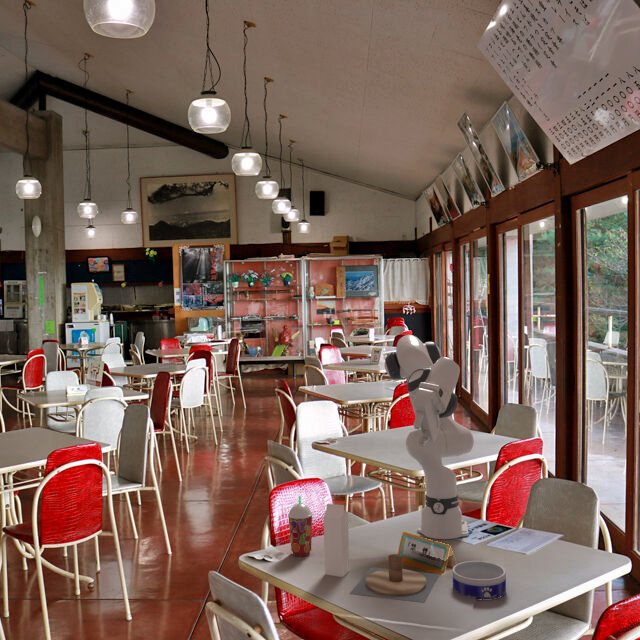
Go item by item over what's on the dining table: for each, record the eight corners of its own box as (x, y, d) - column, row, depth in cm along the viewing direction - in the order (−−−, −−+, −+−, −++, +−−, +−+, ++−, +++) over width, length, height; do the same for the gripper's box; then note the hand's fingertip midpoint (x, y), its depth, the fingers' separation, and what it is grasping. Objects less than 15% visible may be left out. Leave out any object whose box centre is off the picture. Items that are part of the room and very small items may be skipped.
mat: (371, 569, 225) (371, 567, 225) (439, 576, 217) (439, 574, 217) (349, 595, 204) (349, 593, 204) (424, 604, 196) (424, 602, 196)
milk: (332, 569, 225) (330, 501, 225) (350, 572, 223) (347, 502, 223) (324, 576, 220) (322, 506, 220) (342, 578, 217) (340, 507, 217)
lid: (375, 570, 222) (374, 544, 222) (431, 575, 216) (431, 549, 216) (358, 591, 205) (357, 563, 205) (418, 598, 199) (418, 569, 199)
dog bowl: (469, 604, 196) (469, 583, 196) (443, 584, 211) (442, 564, 211) (516, 596, 201) (516, 575, 201) (487, 577, 215) (487, 557, 215)
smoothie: (309, 548, 246) (307, 491, 246) (316, 556, 238) (315, 497, 238) (286, 551, 243) (284, 494, 243) (293, 559, 236) (291, 500, 235)
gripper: (429, 418, 228) (414, 453, 220) (419, 378, 214) (403, 414, 206) (447, 422, 225) (433, 458, 217) (439, 382, 211) (423, 419, 203)
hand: (418, 436), depth 212 cm, fingers open, 8 cm apart
